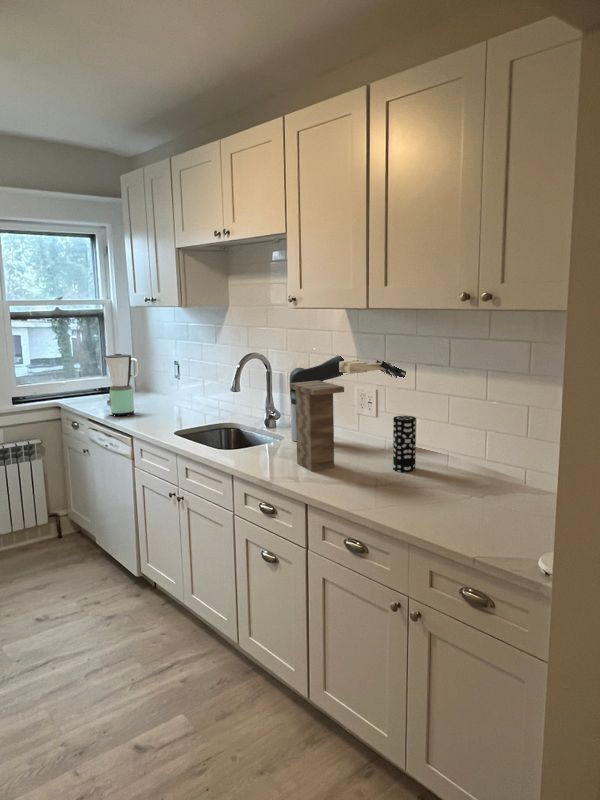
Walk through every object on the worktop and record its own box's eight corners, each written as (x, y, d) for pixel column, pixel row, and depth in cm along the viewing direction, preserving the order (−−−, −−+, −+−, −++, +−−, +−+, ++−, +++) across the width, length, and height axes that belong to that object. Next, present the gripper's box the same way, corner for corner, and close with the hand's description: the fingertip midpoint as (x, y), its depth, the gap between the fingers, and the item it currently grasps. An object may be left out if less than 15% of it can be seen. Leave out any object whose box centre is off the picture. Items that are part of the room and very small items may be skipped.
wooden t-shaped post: (291, 461, 241) (289, 383, 236) (319, 456, 247) (318, 380, 241) (315, 474, 224) (313, 390, 218) (345, 469, 230) (344, 386, 224)
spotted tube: (409, 473, 222) (409, 421, 218) (389, 470, 227) (389, 418, 223) (419, 468, 228) (419, 417, 225) (399, 465, 233) (399, 414, 230)
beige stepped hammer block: (339, 371, 238) (339, 361, 238) (383, 367, 248) (383, 357, 247) (349, 373, 231) (349, 363, 231) (394, 369, 241) (394, 359, 240)
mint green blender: (105, 417, 338) (100, 355, 332) (110, 412, 352) (105, 353, 345) (139, 416, 340) (135, 354, 334) (143, 411, 353) (139, 352, 347)
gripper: (401, 370, 256) (372, 353, 248) (422, 374, 244) (392, 355, 235) (394, 386, 255) (364, 369, 247) (415, 390, 243) (384, 373, 235)
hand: (378, 362), depth 241 cm, fingers closed on beige stepped hammer block, 3 cm apart
